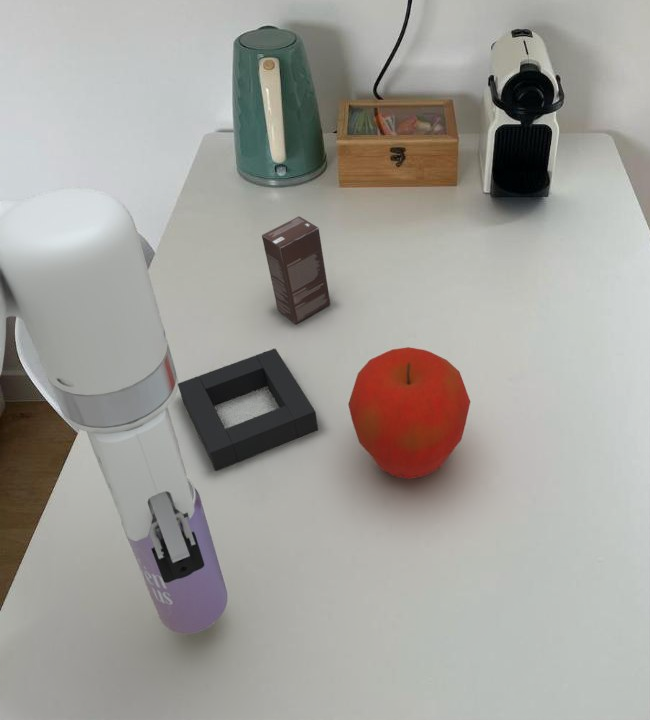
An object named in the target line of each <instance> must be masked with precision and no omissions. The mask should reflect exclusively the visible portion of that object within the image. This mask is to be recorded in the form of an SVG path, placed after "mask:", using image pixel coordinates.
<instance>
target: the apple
mask: <svg viewBox="0 0 650 720" xmlns="http://www.w3.org/2000/svg"><path fill="white" fill-rule="evenodd" d="M470 404H471V399H470V397H469V394H468V391H467V388H466V386H465V383H464V380H463V378H462V375H461V371H459V370H458V368H457V367H455V366H454V365H453V364H452V363H451V362H450V361H448V359H446V358H444V357H441V356H440V355H438V354H435V353H434V352H432V351H429V350H426V349H422V348H421V349H420V348H414V347H408V346H407V347H401V348H394V349H393V348H392V349H390V350H388V351H386V352H384V353H381V354H379V355H377V356H375V357H372V358H371V359H369V360H368V361H367V362H366V363H365V365H364V366H363V367H362V368H361V369H360V370H359V372H358V373H357V375H356V378H355V382H354V385H353V388H352V391H351V394H350V397H349V401H348V403H347V405H348V410H349V415H350V418H351V421H352V424H353V429H354V432H355V434H356V437H357V439H358V443H359V444H360V446H361V447H363V449H364V450H365V451H366V452H367V453H368V454H369V456H370V457H371V458H372V460H374V462H375V463H376V465H378V467H379V468H380V469H381V470H382V471H383V472H386V473H387V474H389V475H391V476H393V477H397V478H402V479H409V480H411V479H415V478H421V477H425V476H427V475H429V474H431V473H434V472H435V471H438V470H440V468H441V467H442V466H443V464H444V463H445V461H446V460H447V459H448V458H449V457H450V455H451V454H452V452H453V451H454V450H455V449H456V447H457V446H458V445H459V443H460V442H461V441H462V438H463V434H464V431H465V427H466V424H467V420H468V419H467V418H468V414H469V410H470V407H471V406H470Z"/></svg>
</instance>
